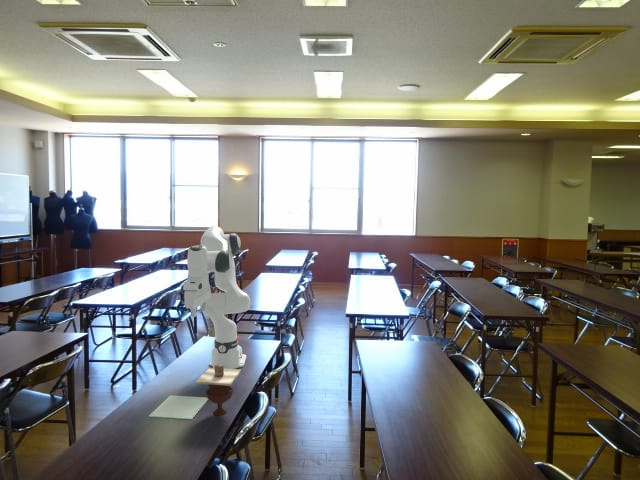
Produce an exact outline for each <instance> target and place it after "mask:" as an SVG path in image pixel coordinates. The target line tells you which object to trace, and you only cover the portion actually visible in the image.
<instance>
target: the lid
mask: <svg viewBox="0 0 640 480" xmlns="http://www.w3.org/2000/svg"><path fill="white" fill-rule="evenodd" d="M241 372H242V369H238V368H235V369H224V365H223V364H217V365H215V368H213V367H209V368H208V369H206V370H205V371H204V372H203V373H202V375H200V377H198V379H197V380H196V381H195V384H199V385H208V384H211V385H228V386H231V385H232V384H233V383H234V381H235V380H236V379H237V377H238V376H239V375H240V373H241Z"/></svg>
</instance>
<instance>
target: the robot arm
mask: <svg viewBox="0 0 640 480" xmlns="http://www.w3.org/2000/svg"><path fill="white" fill-rule="evenodd" d="M241 242H242V241H241V239H240V236H239V235H238V233H232V232H231V233H226V234H225V232H224V230H223V229H222V228H221V227H219V226H215V225H214V226H210V227H209V228H207V229H206V230H205V231H204V232H203V234H202V236H201V238H200V244H195V245H191V246H190V247H189V248H188V251H187V258H186V259H187V261H186V262H187V263H186V264H187V270H188V273H187V279H186V282H185V283H184V284H183V286H182V287H183V291H184V292H183V293H184V294H183V295H184V297H183V298H184V307H185V309H189V310H190V312H191V317H192V318H196V317H197V316H198V312H197V307H198V306H199V308H200V311H201V312H202V314H204V315H206V316H207V317H208V318H209V319H210V320H211V322H212V324H213V326H214V337H215V338H214V342H213V345H214V348H213V349H212V350H211V361H210V362H209V366H211V368H215V365H217V364H223V365H224V369H238V368H243V367H244V366H245V363H246V359H247V355H246V354H244V353H243V348H242V347H241V345H239V339H240V337H239V335H238V332H237V328H238V326H237V324H236V322H235V321H234V320H232V319H229V318H227V317H226V316H225V315H226V314H227V315H228V314H241V313H245V312H247V311H248V310H249V308H250V307H251V304H252V303H251V298H250V296H249V294H248V293H247V292H245V291H243V290H242V289H241V288H240V287H239V285H238V283H237V277H236V275H237V274H236V265H235V264H236V263H235V260H234V257H235V256H237V254H238V252H239V251H240V250H241ZM209 273H214V285H215V287H216V288H217V289H219V290H221V291H223V292H214V293H213V292H212V290H211V284H210V281H209V280H210V279H209V278H210V277H209V276H210V275H209ZM237 335H238V336H237Z"/></svg>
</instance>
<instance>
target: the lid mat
mask: <svg viewBox="0 0 640 480" xmlns="http://www.w3.org/2000/svg"><path fill="white" fill-rule="evenodd" d="M208 400H209V399H208V398H207V396H206V397H204V396H203V397H202V396H186V395H173V394H172V395H171V394H170V395H169V396H168V397H167V398H166V399H165V400H164V401H162V403H161V404H159V406H157V407H156V409H154V410H153V411H152V412H151V413H150V414H149V415H148V417H149V418H159V419H160V418H163V419H176V420H178V419H179V420H190V419H191V420H193V419H194V418H193V417H196V415H197V414H198V413H199V412H200V410H201V409H203V407H204V406H205V405H206V403H207V402H208ZM198 411H199V412H198Z"/></svg>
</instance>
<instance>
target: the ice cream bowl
mask: <svg viewBox="0 0 640 480" xmlns="http://www.w3.org/2000/svg"><path fill="white" fill-rule="evenodd" d="M207 385H208V388H206V390H205V396H206V398H208V400H209V401H210V402H212V403H213V404H215V405H217V407H216V409H214V410H213V415H214V416H224V415H225V414H227V411H228V410H227V409H226V408H224V407H223V404H224V403H226V402H227V401H229V400H231V398H232V395H233V391H234V387H233V386H231V385H230V386H228V385H211V384H207Z"/></svg>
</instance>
